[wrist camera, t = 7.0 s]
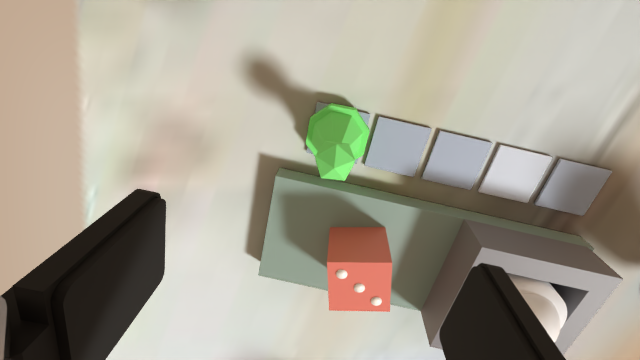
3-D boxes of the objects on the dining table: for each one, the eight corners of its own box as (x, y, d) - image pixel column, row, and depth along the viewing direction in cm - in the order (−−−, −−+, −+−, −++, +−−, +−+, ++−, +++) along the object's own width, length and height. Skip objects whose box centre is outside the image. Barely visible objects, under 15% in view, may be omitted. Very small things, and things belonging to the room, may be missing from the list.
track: (317, 101, 22) (317, 102, 22) (610, 170, 22) (612, 171, 22) (306, 151, 23) (306, 152, 23) (581, 214, 24) (583, 216, 24)
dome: (482, 250, 23) (513, 301, 19) (558, 267, 23) (607, 322, 19) (451, 308, 25) (473, 365, 21) (521, 323, 26) (557, 383, 21)
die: (329, 227, 24) (326, 262, 20) (385, 227, 24) (392, 263, 20) (331, 270, 26) (329, 311, 22) (383, 271, 25) (389, 312, 22)
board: (279, 167, 24) (264, 198, 20) (580, 236, 25) (631, 281, 20) (262, 263, 28) (246, 306, 23) (523, 321, 28) (556, 373, 24)
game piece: (382, 125, 22) (393, 157, 17) (345, 174, 24) (345, 217, 18) (328, 89, 21) (322, 109, 16) (294, 142, 23) (278, 177, 18)
